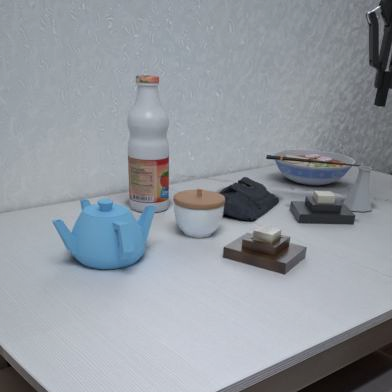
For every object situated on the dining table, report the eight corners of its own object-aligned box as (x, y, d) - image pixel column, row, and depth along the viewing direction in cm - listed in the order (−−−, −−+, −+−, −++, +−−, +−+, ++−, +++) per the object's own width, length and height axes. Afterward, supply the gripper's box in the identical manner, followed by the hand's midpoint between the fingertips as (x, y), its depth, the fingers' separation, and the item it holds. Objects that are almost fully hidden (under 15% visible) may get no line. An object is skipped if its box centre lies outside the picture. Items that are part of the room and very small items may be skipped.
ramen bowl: (352, 178, 152) (358, 150, 148) (354, 199, 134) (361, 168, 129) (270, 170, 157) (273, 143, 152) (261, 190, 138) (264, 159, 133)
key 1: (280, 239, 97) (281, 229, 95) (271, 245, 94) (272, 235, 93) (261, 234, 98) (262, 224, 97) (252, 240, 95) (253, 230, 94)
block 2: (341, 211, 125) (344, 194, 123) (353, 224, 117) (357, 207, 114) (289, 209, 124) (291, 193, 122) (298, 223, 116) (301, 206, 114)
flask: (363, 203, 131) (372, 163, 126) (376, 212, 125) (386, 171, 120) (337, 204, 130) (345, 163, 124) (349, 213, 124) (358, 171, 118)
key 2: (329, 199, 120) (330, 191, 119) (333, 205, 117) (335, 196, 116) (312, 199, 120) (314, 190, 119) (317, 204, 117) (318, 195, 115)
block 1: (305, 257, 99) (308, 238, 97) (284, 274, 92) (287, 254, 89) (246, 242, 104) (248, 223, 102) (222, 257, 97) (224, 237, 95)
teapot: (51, 267, 90) (44, 208, 84) (85, 238, 103) (80, 185, 97) (133, 278, 88) (131, 218, 82) (157, 247, 100) (157, 193, 94)
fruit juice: (126, 202, 124) (122, 73, 109) (164, 200, 126) (164, 74, 111) (133, 214, 116) (128, 77, 101) (172, 212, 119) (174, 78, 103)
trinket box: (225, 242, 104) (229, 196, 99) (174, 241, 103) (174, 195, 98) (219, 224, 113) (222, 182, 108) (172, 224, 112) (172, 181, 107)
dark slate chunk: (192, 212, 119) (192, 192, 116) (227, 191, 136) (229, 173, 133) (252, 224, 114) (255, 203, 111) (282, 200, 131) (284, 181, 128)
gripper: (382, -35, 92) (355, 107, 105) (451, -31, 93) (415, 109, 106) (368, -31, 98) (344, 102, 111) (433, -28, 99) (401, 104, 112)
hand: (379, 105), depth 108 cm, fingers closed
